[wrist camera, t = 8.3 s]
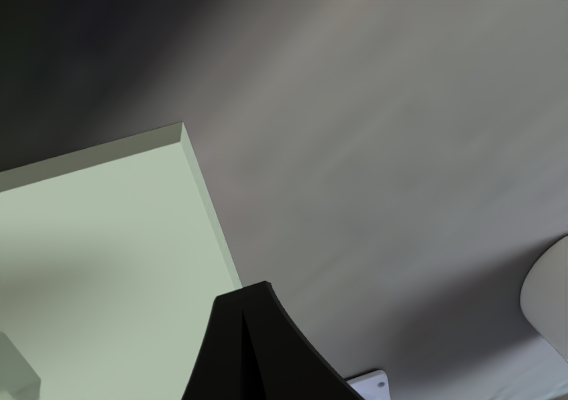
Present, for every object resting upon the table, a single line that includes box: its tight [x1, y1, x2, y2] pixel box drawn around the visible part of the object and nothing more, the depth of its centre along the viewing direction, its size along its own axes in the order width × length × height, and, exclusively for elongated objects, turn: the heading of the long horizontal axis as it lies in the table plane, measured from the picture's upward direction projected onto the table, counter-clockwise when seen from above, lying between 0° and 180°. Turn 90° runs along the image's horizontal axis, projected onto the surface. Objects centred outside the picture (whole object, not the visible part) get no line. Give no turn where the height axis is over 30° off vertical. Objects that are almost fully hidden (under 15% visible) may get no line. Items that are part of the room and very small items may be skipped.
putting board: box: [0, 122, 242, 400], centre depth 17 cm, size 14×20×3 cm
